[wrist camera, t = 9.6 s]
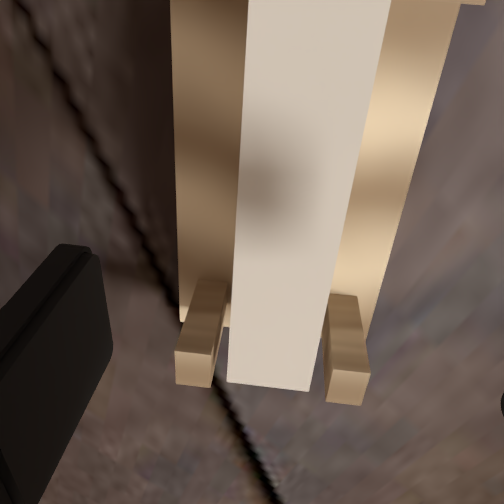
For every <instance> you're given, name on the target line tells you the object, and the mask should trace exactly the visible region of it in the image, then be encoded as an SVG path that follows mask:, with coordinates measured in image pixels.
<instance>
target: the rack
mask: <svg viewBox="0 0 504 504" xmlns="http://www.w3.org/2000/svg"><path fill="white" fill-rule="evenodd" d="M485 2H486V0H391V4H390V9H389V14H388V19H387V23H386V28H385V33H384V38H383V42H382V47H381V52H380V56H379V61H378V66H377V71H376V75H375V80H374V85H373V90H372V94H371V99H370V104H369V109H368V113H367V118H366V123H365V128H364V132H363V137H362V142H361V146H360V151H359V156H358V161H357V165H356V170H355V175H354V180H353V184H352V189H351V194H350V199H349V203H348V208H347V213H346V217H345V222H344V227H343V232H342V236H341V241H340V246H339V251H338V255H337V260H336V265H335V270H334V274H333V279H332V284H331V289H330V293H329V298H328V303H327V307H326V312H325V317H324V322H323V326H322V331H321V336H320V337H322V348H323V365H324V381H325V398H326V402H334V403H343V404H351V405H360V406H361V403H362V400H363V397H364V394H365V390H366V387H367V384H368V381H369V377H370V374H371V372H370V366H369V361H368V355H367V349H366V344H365V341H366V337H367V334H368V330H369V326H370V323H371V319H372V316H373V312H374V309H375V305H376V302H377V298H378V295H379V291H380V288H381V284H382V280H383V277H384V273H385V270H386V266H387V263H388V259H389V256H390V252H391V249H392V245H393V242H394V238H395V235H396V231H397V227H398V224H399V220H400V217H401V213H402V210H403V206H404V203H405V199H406V196H407V192H408V189H409V185H410V181H411V178H412V174H413V171H414V167H415V164H416V160H417V157H418V153H419V150H420V146H421V143H422V139H423V135H424V132H425V128H426V125H427V121H428V118H429V114H430V111H431V107H432V104H433V100H434V97H435V93H436V90H437V86H438V82H439V79H440V75H441V72H442V68H443V65H444V61H445V58H446V54H447V51H448V47H449V44H450V40H451V36H452V33H453V29H454V26H455V22H456V19H457V15H458V12H459V8H460V5H461V3H462V4H474V5H485ZM248 4H249V0H170V14H171V46H172V78H173V110H174V143H175V175H176V207H177V239H178V271H179V303H180V321H181V322H184V324H183V327H182V330H181V333H180V336H179V339H178V342H177V345H176V349H175V370H176V384H182V385H190V386H199V387H207V388H210V387H211V382H212V377H213V373H214V368H215V363H216V359H217V354H218V349H219V345H220V340H221V335H222V330H223V326H225V327H230V317H231V300H232V282H233V265H234V248H235V230H236V213H237V195H238V178H239V161H240V143H241V126H242V109H243V91H244V74H245V56H246V39H247V22H248Z"/></svg>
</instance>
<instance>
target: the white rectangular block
mask: <svg viewBox="0 0 504 504" xmlns="http://www.w3.org/2000/svg"><path fill="white" fill-rule="evenodd" d="M390 4H391V0H249V4H248V22H247V39H246V56H245V74H244V91H243V109H242V126H241V143H240V161H239V178H238V195H237V213H236V230H235V248H234V265H233V282H232V300H231V317H230V334H229V352H228V369H227V382H232V383H241V384H249V385H257V386H266V387H274V388H282V389H291V390H299V391H307V392H309V388H310V383H311V378H312V374H313V369H314V364H315V360H316V355H317V350H318V345H319V341H320V336H321V331H322V326H323V322H324V317H325V312H326V307H327V303H328V298H329V293H330V289H331V284H332V279H333V274H334V270H335V265H336V260H337V255H338V251H339V246H340V241H341V236H342V232H343V227H344V222H345V217H346V213H347V208H348V203H349V199H350V194H351V189H352V184H353V180H354V175H355V170H356V165H357V161H358V156H359V151H360V146H361V142H362V137H363V132H364V128H365V123H366V118H367V113H368V109H369V104H370V99H371V94H372V90H373V85H374V80H375V75H376V71H377V66H378V61H379V56H380V52H381V47H382V42H383V38H384V33H385V28H386V23H387V19H388V14H389V9H390Z"/></svg>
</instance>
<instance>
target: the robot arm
mask: <svg viewBox="0 0 504 504" xmlns="http://www.w3.org/2000/svg"><path fill="white" fill-rule="evenodd" d="M112 352H113V340H112V334H111V327H110V321H109V315H108V309H107V303H106V297H105V291H104V285H103V278H102V272H101V266H100V260H99V257H98V256H97V255H96V254H92V252H91V250H90V248H89V247H87V246H78V245H70V244H59V245H58V246H56V247H55V249H54V250H53V251H52V252H51V253H50V254H49V255H48V257H47V258H46V259H45V260H44V261H43V262H42V263H41V265H40V266H39V267H38V268H37V269H36V270H35V271H34V273H33V274H32V275H31V276H30V277H29V278H28V279H27V281H26V282H25V283H24V284H23V285H22V286H21V287H20V289H19V290H18V291H17V292H16V293H15V294H14V295H13V297H12V298H11V299H10V300H9V301H8V302H7V303H6V305H4V306H3V307H2V308H1V309H0V504H38V503H39V501H40V499H41V497H42V495H43V493H44V491H45V489H46V487H47V485H48V483H49V481H50V479H51V477H52V475H53V473H54V471H55V469H56V467H57V465H58V463H59V461H60V459H61V457H62V455H63V453H64V451H65V449H66V447H67V445H68V443H69V441H70V439H71V437H72V435H73V433H74V431H75V429H76V427H77V425H78V423H79V421H80V419H81V417H82V415H83V413H84V411H85V409H86V407H87V405H88V403H89V401H90V399H91V397H92V395H93V393H94V391H95V389H96V387H97V385H98V383H99V381H100V379H101V377H102V375H103V373H104V371H105V369H106V367H107V365H108V363H109V361H110V359H111V356H112ZM501 410H502V414H503V416H504V393H503V395H502V398H501Z"/></svg>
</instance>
